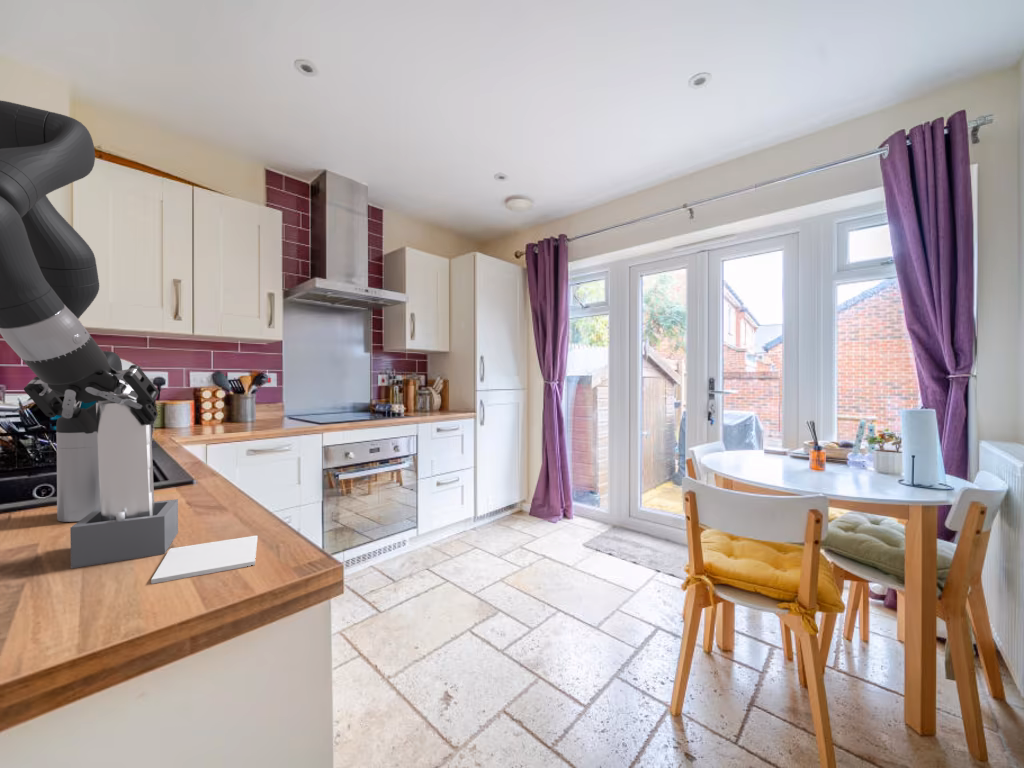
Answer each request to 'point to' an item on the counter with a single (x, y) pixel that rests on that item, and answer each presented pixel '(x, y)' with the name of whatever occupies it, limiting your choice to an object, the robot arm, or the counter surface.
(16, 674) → the counter surface
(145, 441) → the silver metal canister
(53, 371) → the robot arm
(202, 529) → the counter surface
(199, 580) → the counter surface
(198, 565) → the rubber mat
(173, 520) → the housing collar
